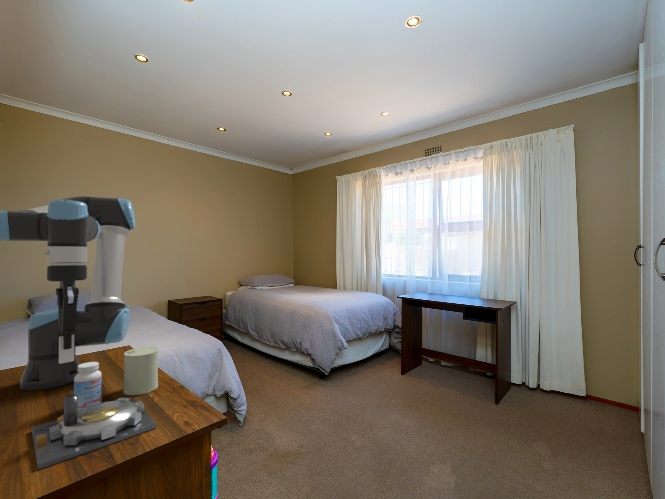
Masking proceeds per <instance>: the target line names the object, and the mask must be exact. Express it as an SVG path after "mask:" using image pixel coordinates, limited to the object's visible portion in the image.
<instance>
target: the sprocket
mask: <svg viewBox="0 0 665 499" xmlns="http://www.w3.org/2000/svg"><path fill="white" fill-rule="evenodd" d="M129 400H130V397H119V398H117V399H115V400H109V401H105V402H101V403H100V402H99V401H97V402H93V403H90V404H87V407H85V408H82V409H80V410H78V395H74V394H71V395H67V396H65V397H64V398H63V414H61V415H60V416H58V417H57V420H58V425H56V426H53V427H50V440H54V439H57V438H60V437H61V438H62V439H64V445H77V444H78V443H79V442H81V441H83V440H90V439H95V438H99V437H100V438H101V440H104V439H107V438H110V437H113V436H115V435H116V431H119V430H121V429H123V428H124V427H126V426H128V425H136V424H137V423H138V422H139V421H140V420H141V412H143V411H144V410H145V403H144V402H143V401H142V400H140V401H137V402H135V403H133V402H130V401H129Z"/></svg>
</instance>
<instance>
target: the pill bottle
mask: <svg viewBox="0 0 665 499" xmlns="http://www.w3.org/2000/svg"><path fill="white" fill-rule="evenodd" d="M99 367H100V363H99V362H98V361H88V362H84V363H80V365H79V366H78V370H77V371H78V372H79V373H78V374H77V375H76V376H75V378H74V382H73V395H78V410H80V409H82V408H85V407H87V404H90V403H93V402H97V401H99V402H100V403H102V388H103V386H102V384H103V383H102V382H103V381H102V378H103V375H102V371H100V370H99Z"/></svg>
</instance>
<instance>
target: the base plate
mask: <svg viewBox="0 0 665 499" xmlns="http://www.w3.org/2000/svg"><path fill="white" fill-rule="evenodd" d="M129 401H130V402H133V403H135V402H138V400H136V398H131V399H130V398H129ZM149 414H150V413H148V412H147V411H146V410H145V409H144V411H143V412H141V420H140V421H139V422H138V423H137V424H136V425H128V426H126V427H124V428H123V429H121V430H119V431H116V435H115V436H113V437H110V438H107V439H104V440H101V438H100V437H99V438H95V439H90V440H83V441H81V442H79V443H78V444H77V445H64V439H62V438H61V437H60V438H57V439H54V440H50V427H53V426H56V425H58V419H56V420H54V421H50V422H46V423H43V424H38V425H35V426H32V427H31V435H32V440H33V441H32V442H33V448H34V455H35V459H36V460H35V461H36V467H37V471H39V470H42V469H45V468H47V467H50V466H54V465H55V464H59V463H62V462H64V461H68V460H70V459H73V458H77V457H79V456H81V455H84V454H87V453H90V452H92V451H93V452H94V451H96V450H98V449H100V448H104V447H107V446H109V445H112V444H114V443H119V442H121V441H124V440H126V439H130V438H132V437H135V436H138V435H141V434H143V433H146V432H149V431H152V430H155V429H157V428H158V424H157V422H156V421H155V420H154V418H152V417H151V415H149Z"/></svg>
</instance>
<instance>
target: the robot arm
mask: <svg viewBox="0 0 665 499" xmlns="http://www.w3.org/2000/svg"><path fill="white" fill-rule="evenodd" d="M134 211H135V210H134V207H133V203H132V201H130V200H129V199H126V198H119V197H115V198H114V197H102V196H101V197H100V196H99V197H98V196H85V195H84V196H83V195H82V196H80V195H79V196H72V197H67V198H66V197H65V198H61V199H53V200H51V201H49V202H48V204H46V205H42V206H37V207H33V208H28V209H20V210H16V211H15V210H7V209H5V210H0V241H7V242H13V241H14V242H16V241H17V242H20V241H22V242H24V241H25V242H33V241H34V242H36V241H37V242H47V244H46V245H47V249H46V250H44V251H43V254H44V255H45V256H46V255H47V259H46V260H47V263H48V264H50V265H48V266H46V280H47V281H48V282H59V287H57V288H55V295H56V304H57V308H54V309H53V308H52V309H47V310H44V311H40V312H36V313H34V314H32V315H31V316H30V317H29V320H28V328H27V331H28V332H27V333H28V339H27V340H28V341H27V342H28V344H27V346H28V349H27V351H28V352H27V354H28V355H27V357H28V358H27V363H26V366H25V367H24V370H23V373H22V375H21V378H20V383H19V387H20V390H23V391H43V390H48V389H53V388H57V387H62V386H65V385H67V384H72V383H74V378H75V376H76V375H77V374H78V373H79V372H78V371H77V370H78V366H79V365H80V364H81V363H80V362H79V359H78V357H77V354H76V348H77V347H85V346H86V347H87V346H96V345H109V344H117V343H120V342H122V341H123V340H124V339H125V337H126V335H127V332H128V329H129V324H130V319H131V311H130V308H128V307H126V303H125V302H124V301H123V300H122V283H123V272H124V270H123V268H124V255H125V254H124V252H125V244H126V243H125V240H126V237H128V236H129V235H130V234H131V231H132V230H135V229H136V218H135V212H134ZM94 240H96V245H95V253H94V264H93V275H92V284H91V293H90V294H91V296H90V297H91V298H90V300H89V301H88V302H86V303H85V304H84V310H77V308H78V299H79V294H80V290H79V289H80V288H79V287H76V282H77V281H84V280H86V279H87V278H88V266H87V265H85V264H86V263H87V262H88V242H92V241H94Z"/></svg>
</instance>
